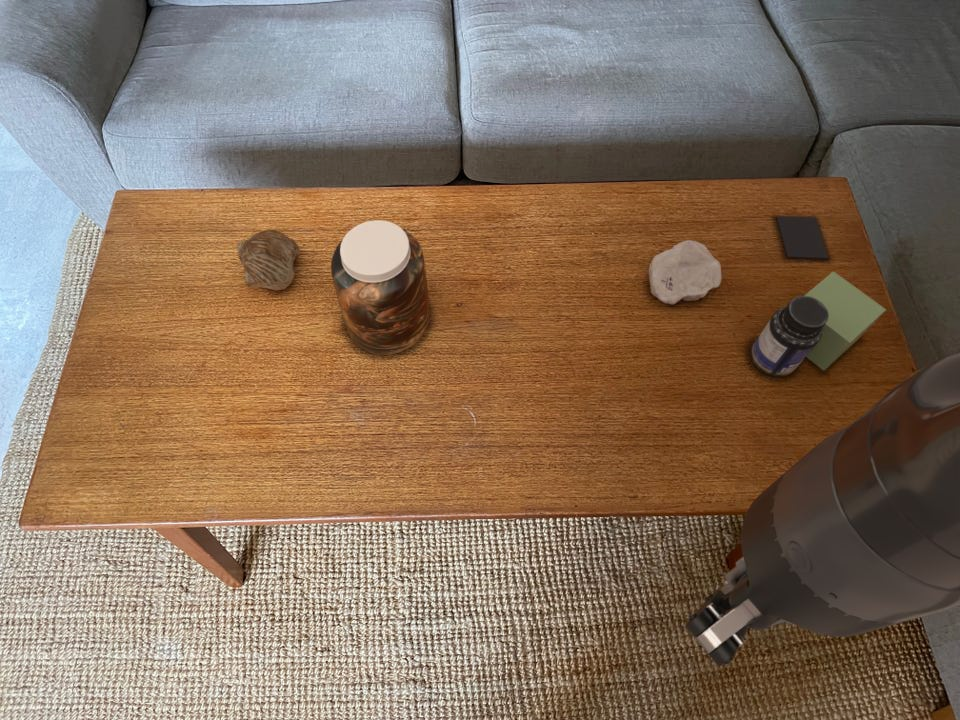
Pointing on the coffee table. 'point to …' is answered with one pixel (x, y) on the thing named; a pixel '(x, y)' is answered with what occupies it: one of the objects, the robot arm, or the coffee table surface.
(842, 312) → the green block
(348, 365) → the coffee table surface
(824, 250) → the rubber mat
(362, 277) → the jar
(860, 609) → the robot arm
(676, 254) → the fossil
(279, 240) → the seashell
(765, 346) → the pill bottle
